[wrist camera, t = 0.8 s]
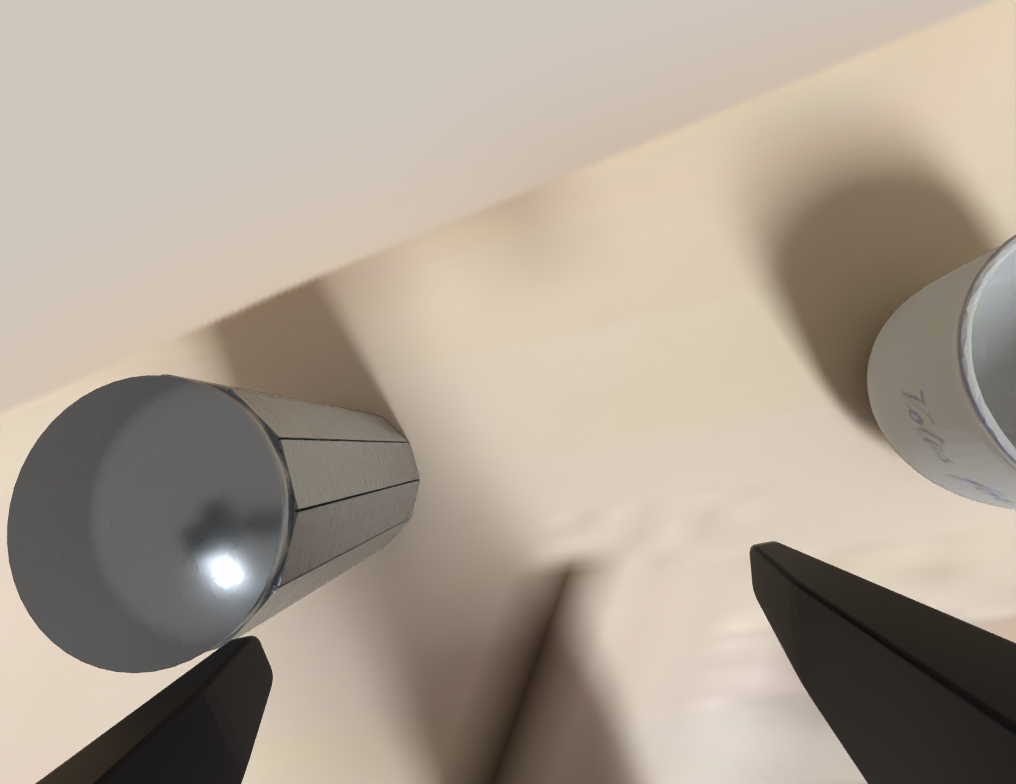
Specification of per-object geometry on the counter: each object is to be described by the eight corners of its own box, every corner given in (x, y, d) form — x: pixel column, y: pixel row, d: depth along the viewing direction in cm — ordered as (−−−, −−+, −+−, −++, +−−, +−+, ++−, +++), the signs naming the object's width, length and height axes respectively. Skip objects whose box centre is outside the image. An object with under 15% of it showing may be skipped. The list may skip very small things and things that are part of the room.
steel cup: (398, 571, 25) (236, 708, 12) (262, 537, 25) (-31, 630, 12) (432, 427, 25) (313, 407, 12) (298, 398, 26) (56, 350, 13)
